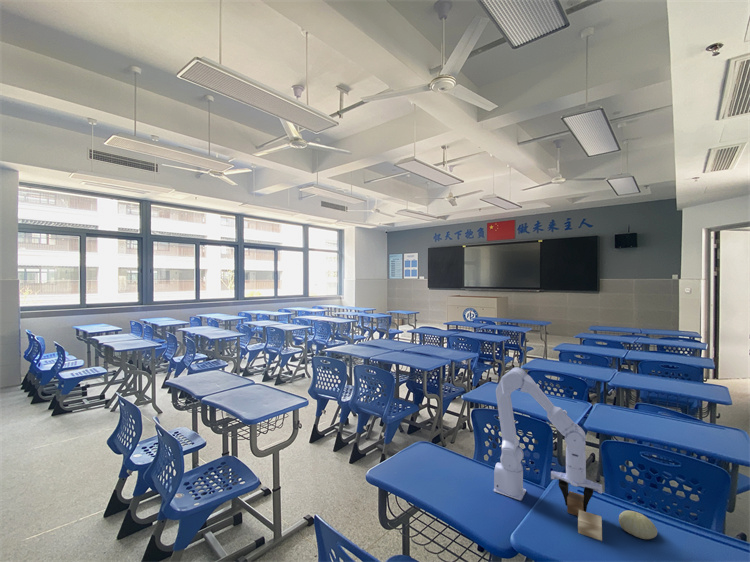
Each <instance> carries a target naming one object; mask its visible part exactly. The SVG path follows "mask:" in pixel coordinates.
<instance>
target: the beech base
mask: <svg viewBox="0 0 750 562" xmlns="http://www.w3.org/2000/svg"><path fill="white" fill-rule="evenodd" d="M602 524H603V521H602V516H601V515H598V514H594V513H593V512H587V511H586V512H585V511H582V510H579V513H578V516H577V533H578V534H581V535H583V536H586V537H589V538H592V539H594V540H598V541H601V542H602V541H603V525H602Z"/></svg>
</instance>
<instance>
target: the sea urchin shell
mask: <svg viewBox="0 0 750 562" xmlns="http://www.w3.org/2000/svg"><path fill="white" fill-rule="evenodd" d="M618 523H619V526H620V528H621V529H622V530H623V531H625V532H627V533H628V534H629V535H632V536H634V537H635V538H639V539H643V540H652V539H654V538H655V537H657V535H658V528H657V527H656V526H655V524H654V522H652V520H651V519H650V518H648V517H647V516H646V515H644V514H642V513H640V512H637V511H635V510H624V511H622V512H621V513H619V516H618Z"/></svg>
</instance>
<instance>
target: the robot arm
mask: <svg viewBox="0 0 750 562" xmlns="http://www.w3.org/2000/svg"><path fill="white" fill-rule="evenodd" d="M519 389H520V390H519ZM516 390H519V392H522V393H525V394H526V393H527V394H529V395H530V396H531V397H532V398H533V399H534V400H535V401H536V402H537V403H538V404H539V405H540V406H541V407H542V408H543V409H544V411H545V412H546V417H547V419H548V420H549V422H550V423H551V424H552V425H553V426H554V428H555V429H557V431H558V432H559V433H560V434H561V436H563V437H564V442H565V444H566V448H565V472H559V471H554V470H551V471H550V479H551V480H557V481H558V484H557V485H558V488H559V489H560V491H561V493H562V496H563V498H564V504H565V507H567V496H568V493H569V485H571V486H572V487H576V488H577V487H582V488H584V489H583V495H584V511H585V512H587V508H588V505H589V502H590V501H591V498H592V497H593V494H594V491H595V492H597V493H599V494H601V495H602V494H603V485H602V484H601V483H597V482H594V481H592V480H590V479H588V478H587V468H586V467H587V466H586V465H587V463H586V462H587V459H586V458H587V457H586V456H587V455H586V454H587V453H586V444H587V443H586V439H587V437H586V432H585V431H584V429H583V428H582V427H581V426H580V425H578V423H577V422H574V421H573V420H572V418H570V417H569V416H568V411H567V410H566V409H564V410H563V408H562V407H559V406H555V405H554V403H552V401H551V400H550V399H549V398H548V396H547V395H546V394H545V393H544V391H543V390H542V389H541V387H540V386H539V385H538V384H537V383H536V382H535V380H534V379H533V377H532V376H530V374H527V372H526V371H525V370H524V369H523V368H521V367H517V366H516V367H513V368H511V369H510V370H509V371H507V372H506V373H505V374H504V375H502V377H501V378H500V380H499V382H498V384H497V386H496V388H495V396H496V403H497V411H498V419H499V424H500V425H499V426H500V433H501V439H502V442H501V455H500V459H499V460H500V462H496V463H495V467H494V471H493V479H494V480H493V492H494V493H496V494H497V493H498V494H501V495H502V496H507V497H509V498H512V499H515V500H518V501H522V500H523V498H524V496H525V494H526V492H527V489H526V488H524V479H523V478H524V466H523V464H522V462H521V461H522V460H523V458H524V456H525V455H524V451H523V449H522V447H521V445H520V440H519V439H518V438H517V437H518V436H517V430H516V423H515V416H514V410H513V409H514V408H513V402H512V398H511V397H512V396H511V395H512V393H513V392H514V391H516Z"/></svg>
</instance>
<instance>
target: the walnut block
mask: <svg viewBox="0 0 750 562" xmlns="http://www.w3.org/2000/svg"><path fill="white" fill-rule="evenodd" d="M566 507H567V509H566V512H567V513H568V514H570V515H573V516H575V517H578V513H579V510H582V511H584V494H580V493H578V492H574V491H571V490H568V496H567V506H566Z"/></svg>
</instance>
